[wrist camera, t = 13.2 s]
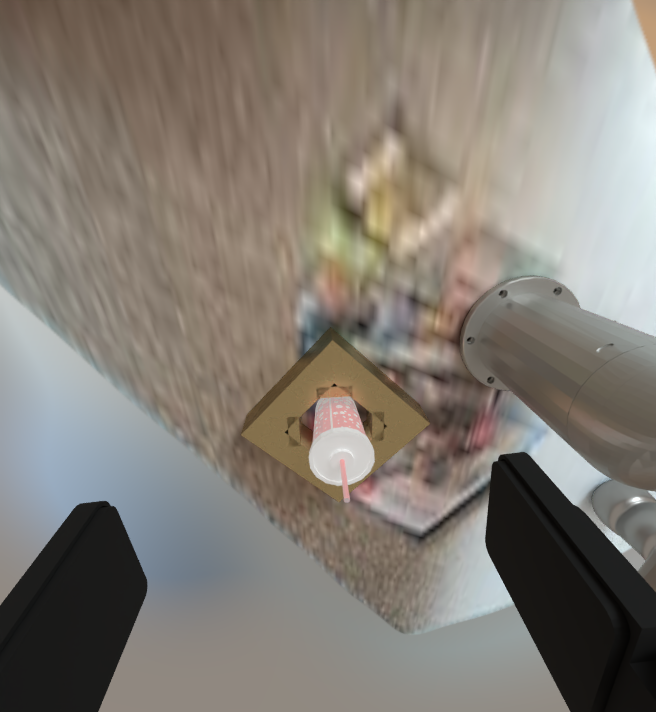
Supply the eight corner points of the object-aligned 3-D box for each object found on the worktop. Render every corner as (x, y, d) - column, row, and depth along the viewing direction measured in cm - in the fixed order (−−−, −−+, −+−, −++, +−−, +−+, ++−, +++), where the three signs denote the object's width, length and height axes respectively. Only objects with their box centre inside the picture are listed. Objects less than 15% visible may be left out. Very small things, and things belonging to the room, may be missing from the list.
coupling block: (330, 327, 38) (332, 340, 34) (419, 404, 42) (430, 423, 39) (247, 414, 42) (240, 435, 38) (336, 478, 46) (338, 502, 42)
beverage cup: (317, 437, 43) (321, 536, 30) (302, 393, 41) (298, 480, 28) (367, 424, 43) (392, 518, 30) (354, 379, 41) (375, 460, 28)
